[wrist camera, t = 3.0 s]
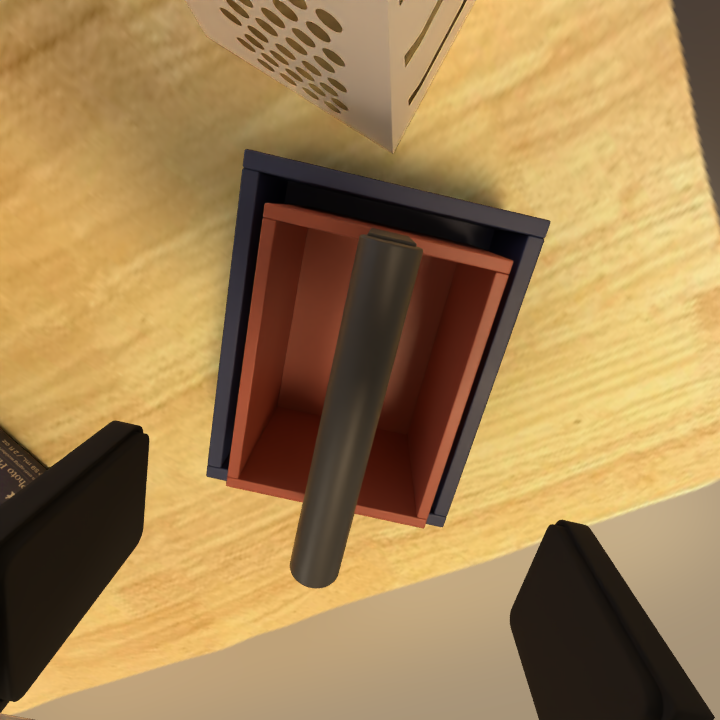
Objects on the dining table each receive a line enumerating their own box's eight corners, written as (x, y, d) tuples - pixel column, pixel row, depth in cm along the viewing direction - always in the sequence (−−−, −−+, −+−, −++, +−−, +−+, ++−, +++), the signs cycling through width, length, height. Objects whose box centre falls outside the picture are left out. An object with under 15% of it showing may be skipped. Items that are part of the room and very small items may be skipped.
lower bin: (279, 164, 22) (244, 148, 17) (508, 218, 23) (551, 220, 17) (242, 421, 28) (205, 477, 22) (430, 462, 28) (443, 528, 22)
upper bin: (303, 205, 23) (219, 199, 11) (470, 244, 23) (564, 279, 11) (270, 407, 26) (181, 563, 15) (412, 439, 27) (436, 617, 15)
